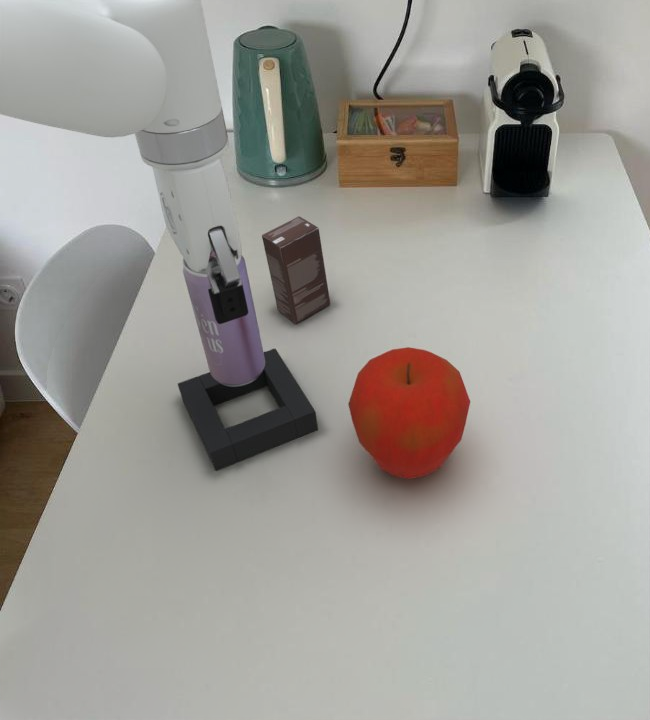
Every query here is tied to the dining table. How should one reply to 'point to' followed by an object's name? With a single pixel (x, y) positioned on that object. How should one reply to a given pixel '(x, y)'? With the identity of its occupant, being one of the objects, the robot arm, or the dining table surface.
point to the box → (297, 268)
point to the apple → (409, 411)
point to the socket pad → (253, 433)
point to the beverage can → (226, 331)
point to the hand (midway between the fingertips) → (221, 298)
